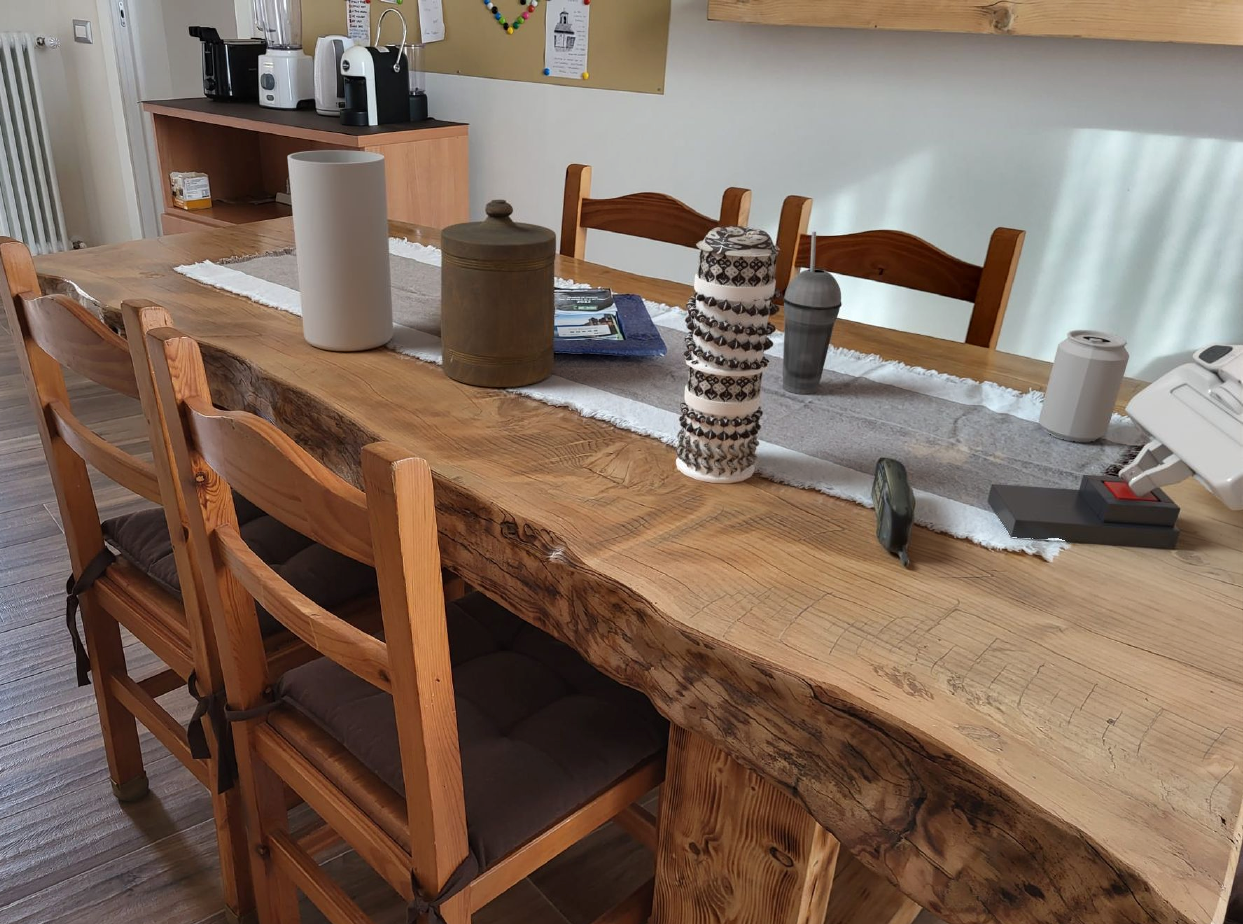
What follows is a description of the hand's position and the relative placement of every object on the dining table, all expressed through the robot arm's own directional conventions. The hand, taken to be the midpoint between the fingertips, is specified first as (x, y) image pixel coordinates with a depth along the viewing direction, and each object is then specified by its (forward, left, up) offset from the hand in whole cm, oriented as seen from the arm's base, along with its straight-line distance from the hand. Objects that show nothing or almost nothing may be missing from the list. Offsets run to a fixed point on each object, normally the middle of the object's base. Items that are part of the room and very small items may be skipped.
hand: (1127, 485), depth 95 cm
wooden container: (+66, -35, -5) cm, 75 cm away
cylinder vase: (+89, -44, -5) cm, 100 cm away
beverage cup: (+26, -35, -5) cm, 44 cm away
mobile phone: (+22, +4, -5) cm, 23 cm away
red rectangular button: (-1, 0, -3) cm, 3 cm away
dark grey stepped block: (+3, 0, -5) cm, 6 cm away
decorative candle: (+38, -8, -5) cm, 40 cm away
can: (-5, -25, -5) cm, 26 cm away
